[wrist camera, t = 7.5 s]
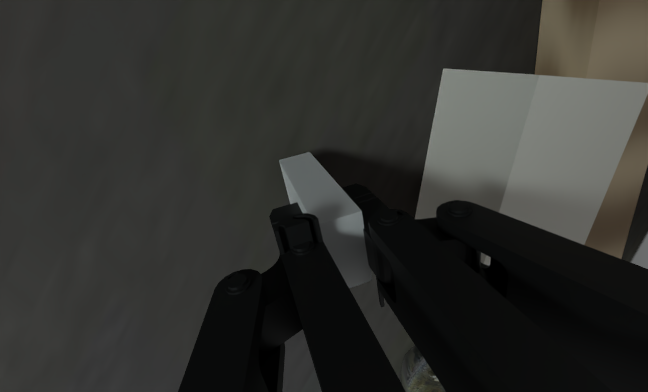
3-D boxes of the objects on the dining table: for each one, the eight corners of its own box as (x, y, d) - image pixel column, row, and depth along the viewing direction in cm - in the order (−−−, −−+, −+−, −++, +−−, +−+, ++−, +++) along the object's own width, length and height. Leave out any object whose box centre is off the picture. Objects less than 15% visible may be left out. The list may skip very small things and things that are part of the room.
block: (441, 68, 17) (539, 74, 12) (531, 74, 19) (652, 83, 14) (412, 222, 21) (479, 280, 15) (491, 216, 22) (575, 266, 17)
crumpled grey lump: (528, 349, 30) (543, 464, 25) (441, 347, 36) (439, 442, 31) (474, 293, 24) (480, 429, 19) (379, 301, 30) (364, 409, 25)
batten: (558, -150, 15) (633, -196, 12) (661, -160, 16) (750, -204, 13) (513, 273, 25) (547, 299, 22) (577, 250, 26) (617, 272, 23)
